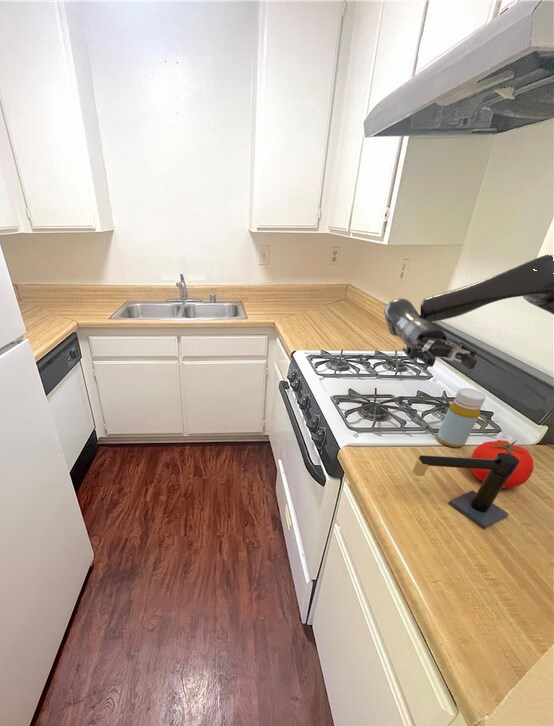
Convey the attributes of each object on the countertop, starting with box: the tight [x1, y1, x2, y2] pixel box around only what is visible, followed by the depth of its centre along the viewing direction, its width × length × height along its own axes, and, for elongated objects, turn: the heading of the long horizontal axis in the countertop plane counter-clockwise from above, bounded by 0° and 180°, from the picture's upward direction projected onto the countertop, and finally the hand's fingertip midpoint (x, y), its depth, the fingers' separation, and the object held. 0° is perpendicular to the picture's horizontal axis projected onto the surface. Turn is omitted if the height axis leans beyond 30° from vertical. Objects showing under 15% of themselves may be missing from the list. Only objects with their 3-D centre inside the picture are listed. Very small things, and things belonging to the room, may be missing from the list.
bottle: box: [436, 387, 487, 449], centre depth 93 cm, size 7×7×15 cm
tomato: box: [470, 439, 534, 489], centre depth 80 cm, size 12×12×10 cm
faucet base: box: [448, 470, 510, 530], centre depth 72 cm, size 8×8×11 cm
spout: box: [412, 453, 519, 477], centre depth 68 cm, size 18×4×5 cm, turn 86°
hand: (453, 363), depth 74 cm, fingers open, 8 cm apart
